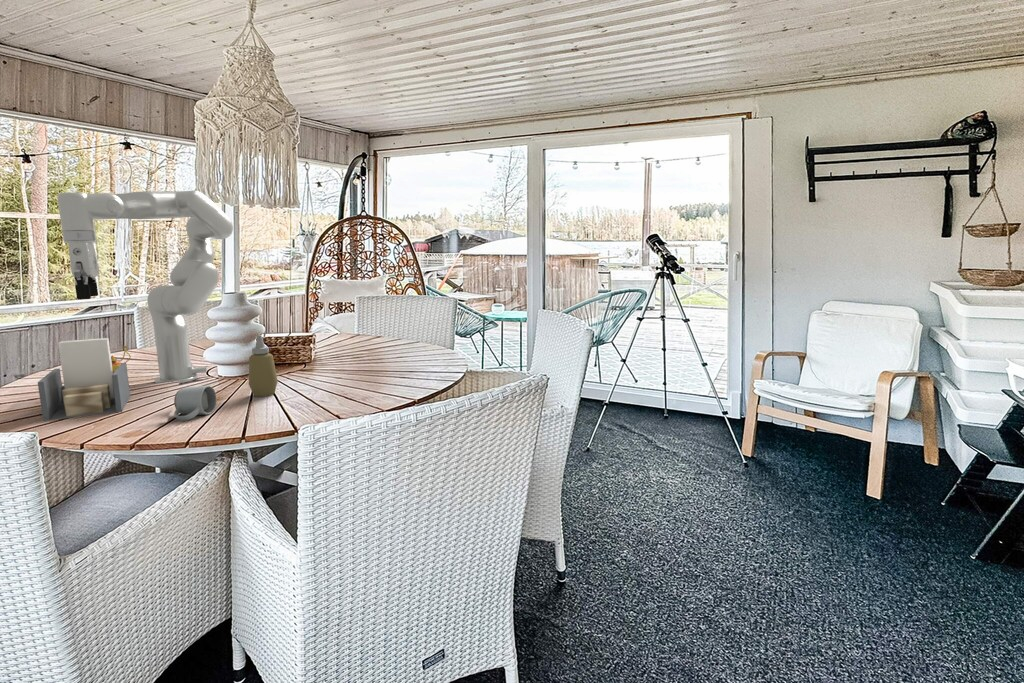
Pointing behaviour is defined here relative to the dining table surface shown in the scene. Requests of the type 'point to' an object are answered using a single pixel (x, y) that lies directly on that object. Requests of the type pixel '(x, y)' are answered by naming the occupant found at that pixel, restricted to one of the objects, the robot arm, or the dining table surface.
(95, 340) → the white panel
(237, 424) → the dining table surface
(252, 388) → the squeeze bottle
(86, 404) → the oak offcut short
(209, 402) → the ceramic mug
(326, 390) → the dining table surface
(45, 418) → the rack
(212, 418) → the dining table surface
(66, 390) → the oak offcut tall
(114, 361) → the magic lamp
